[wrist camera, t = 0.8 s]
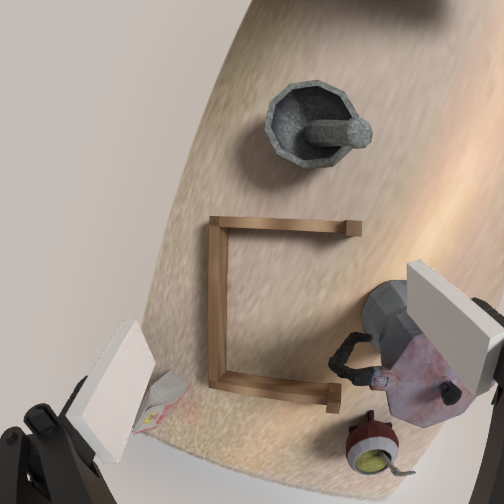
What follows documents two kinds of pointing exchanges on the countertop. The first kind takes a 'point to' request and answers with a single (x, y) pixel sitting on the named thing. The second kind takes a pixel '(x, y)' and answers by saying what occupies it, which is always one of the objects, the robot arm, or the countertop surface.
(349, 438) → the mate gourd
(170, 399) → the white paper packet
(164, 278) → the countertop surface
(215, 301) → the bay
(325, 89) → the mortar and pestle
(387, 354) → the moka pot
